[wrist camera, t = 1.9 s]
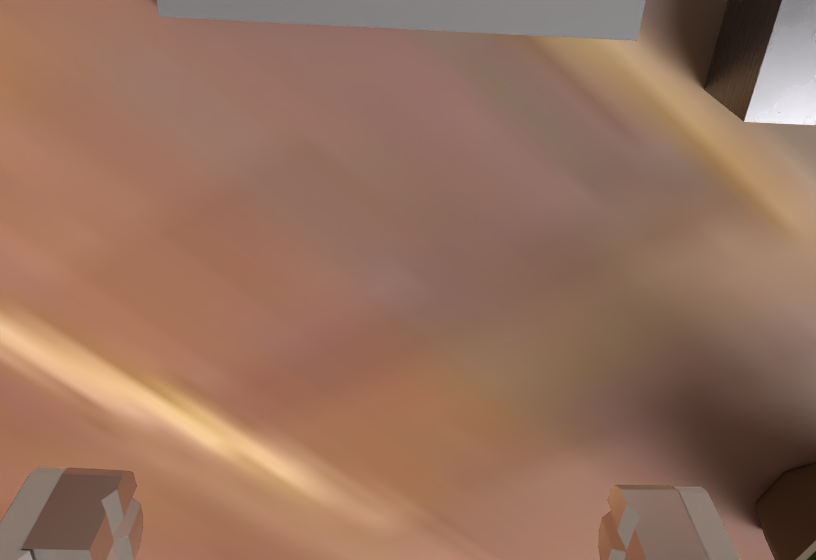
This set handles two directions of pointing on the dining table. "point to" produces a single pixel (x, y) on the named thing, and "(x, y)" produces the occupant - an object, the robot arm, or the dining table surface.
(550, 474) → the dining table surface
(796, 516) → the beer bottle
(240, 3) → the board
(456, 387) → the dining table surface
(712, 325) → the dining table surface
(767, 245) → the dining table surface
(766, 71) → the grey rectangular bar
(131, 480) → the robot arm
